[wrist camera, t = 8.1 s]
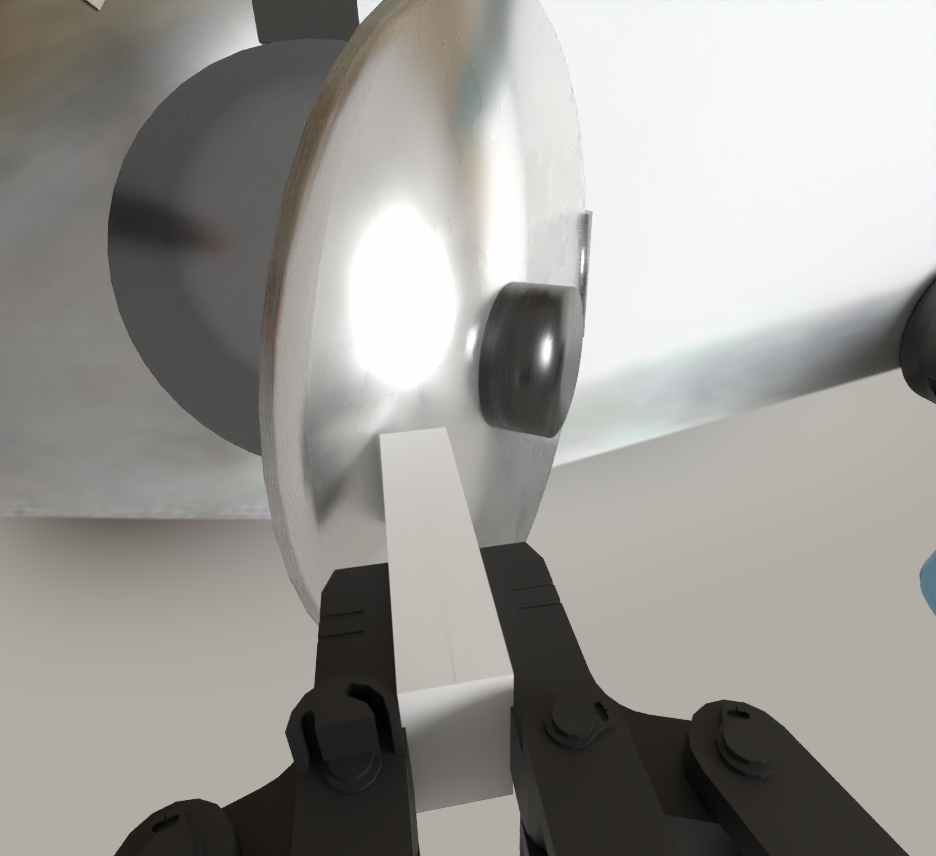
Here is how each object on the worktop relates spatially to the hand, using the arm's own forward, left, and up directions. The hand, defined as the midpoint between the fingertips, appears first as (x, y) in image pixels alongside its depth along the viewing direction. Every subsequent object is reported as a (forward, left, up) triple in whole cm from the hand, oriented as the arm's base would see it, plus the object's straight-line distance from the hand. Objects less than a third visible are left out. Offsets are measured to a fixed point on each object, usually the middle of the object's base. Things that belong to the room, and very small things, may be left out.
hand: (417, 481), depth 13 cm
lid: (-3, 0, -8) cm, 8 cm away
